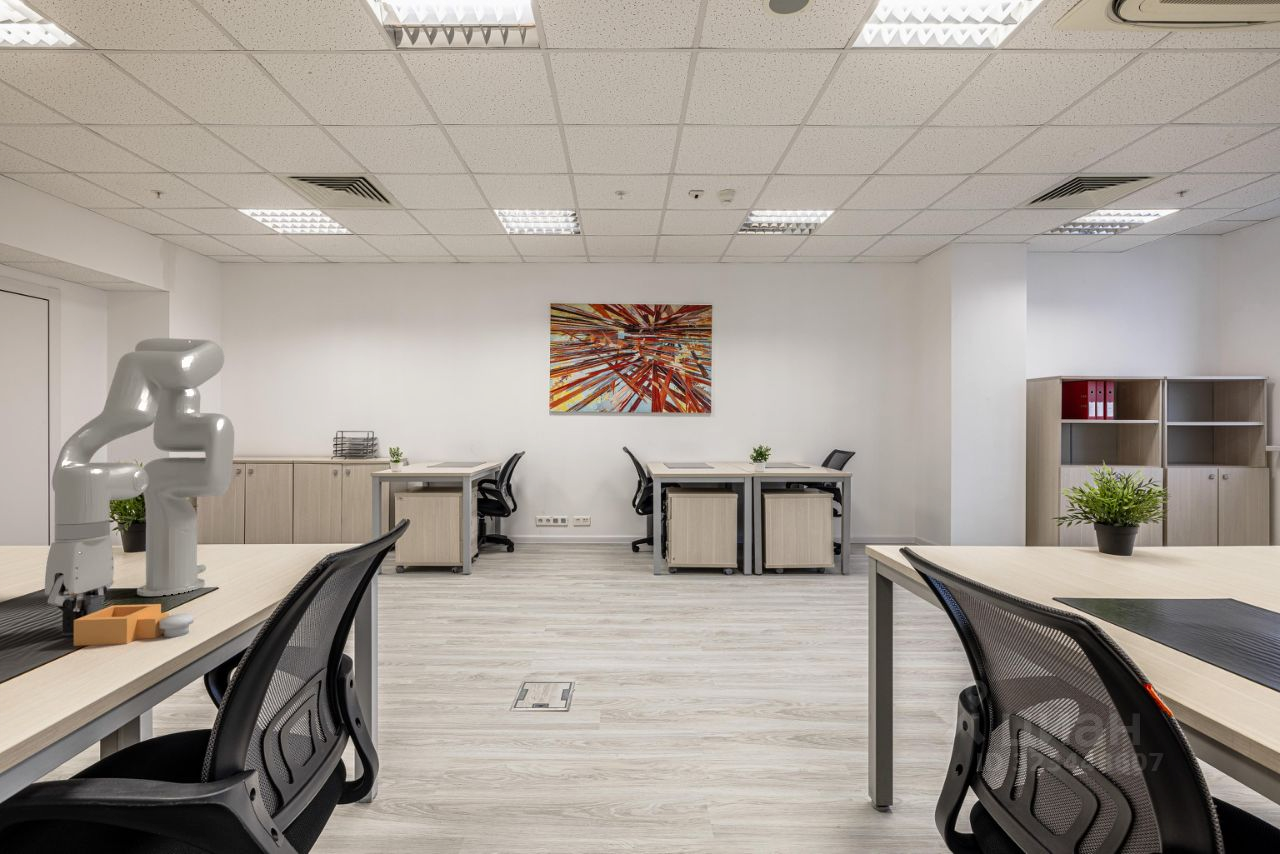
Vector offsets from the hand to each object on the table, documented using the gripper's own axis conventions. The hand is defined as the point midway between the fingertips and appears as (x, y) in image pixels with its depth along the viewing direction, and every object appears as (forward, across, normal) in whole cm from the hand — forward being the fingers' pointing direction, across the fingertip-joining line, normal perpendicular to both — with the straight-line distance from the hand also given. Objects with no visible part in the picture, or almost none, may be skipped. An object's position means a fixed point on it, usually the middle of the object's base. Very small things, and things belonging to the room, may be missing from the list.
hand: (82, 627), depth 109 cm
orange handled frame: (+1, +3, +12) cm, 13 cm away
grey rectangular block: (+1, 0, 0) cm, 1 cm away
